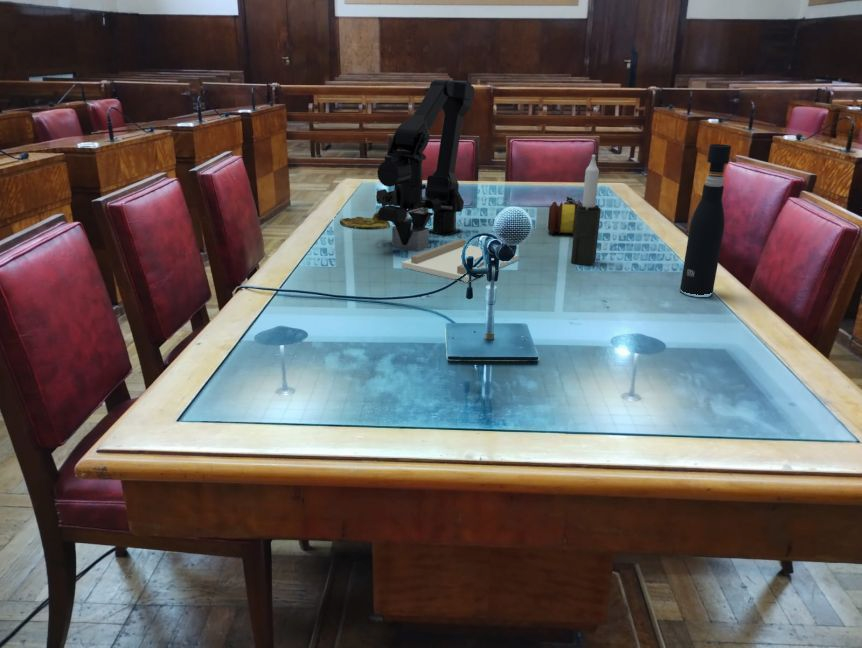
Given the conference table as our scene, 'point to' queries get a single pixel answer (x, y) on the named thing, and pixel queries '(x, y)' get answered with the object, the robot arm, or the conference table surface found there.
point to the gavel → (563, 216)
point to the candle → (587, 220)
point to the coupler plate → (446, 260)
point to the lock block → (412, 238)
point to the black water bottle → (706, 228)
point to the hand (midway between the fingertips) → (410, 242)
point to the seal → (365, 223)
